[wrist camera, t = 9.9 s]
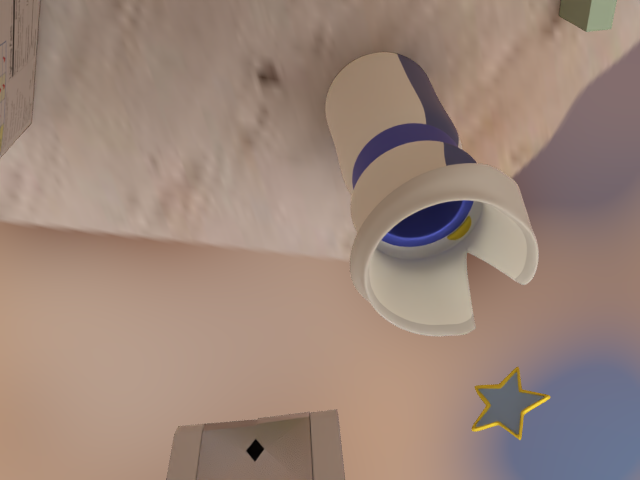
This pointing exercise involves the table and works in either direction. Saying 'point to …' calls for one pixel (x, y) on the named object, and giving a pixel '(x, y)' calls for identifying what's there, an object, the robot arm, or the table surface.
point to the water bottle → (425, 212)
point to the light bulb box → (17, 67)
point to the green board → (588, 13)
